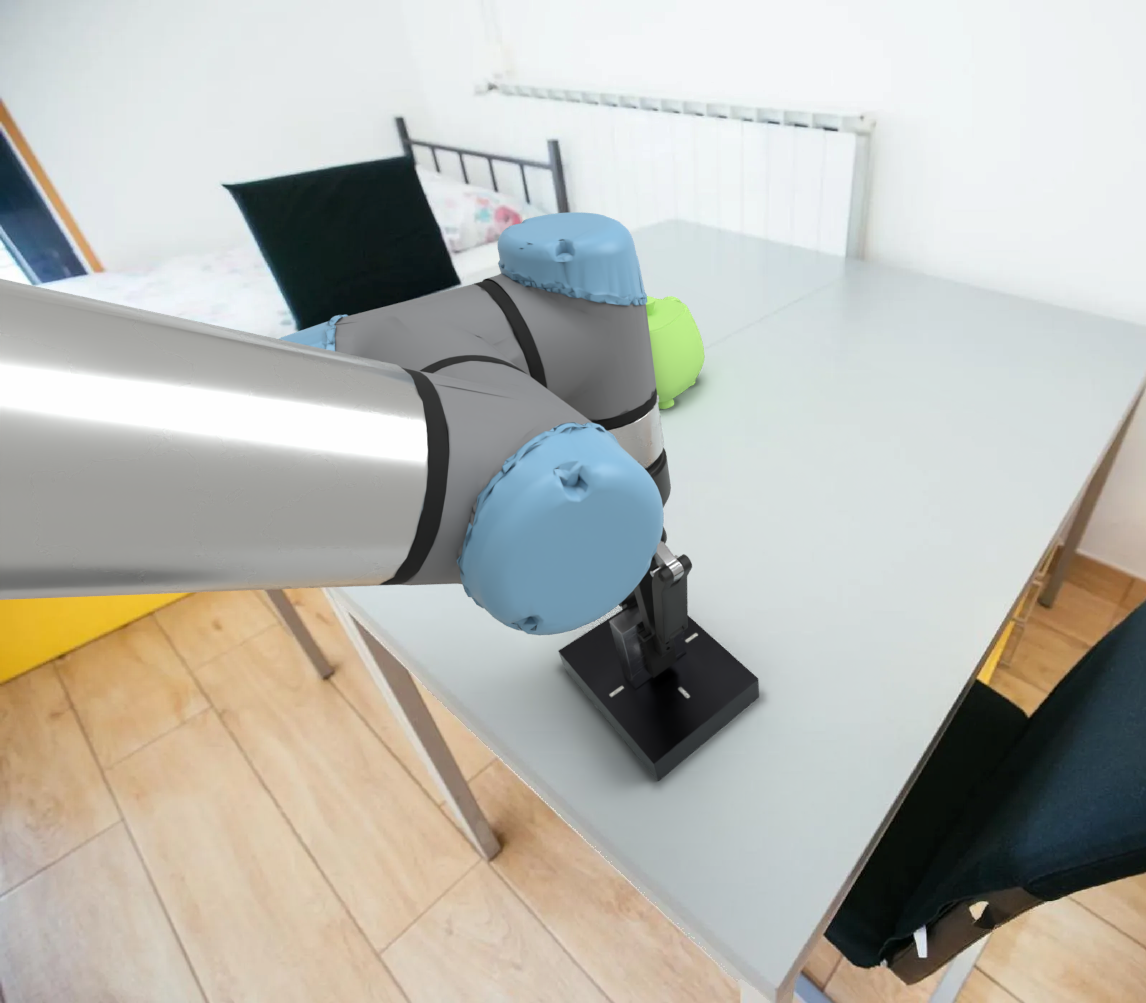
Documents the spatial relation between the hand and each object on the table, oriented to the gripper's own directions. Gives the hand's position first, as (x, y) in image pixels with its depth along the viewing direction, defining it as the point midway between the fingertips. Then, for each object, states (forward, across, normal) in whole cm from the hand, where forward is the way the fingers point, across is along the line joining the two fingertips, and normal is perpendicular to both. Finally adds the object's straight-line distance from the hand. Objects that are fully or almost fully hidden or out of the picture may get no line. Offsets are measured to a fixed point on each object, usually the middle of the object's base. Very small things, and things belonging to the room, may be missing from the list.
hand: (654, 658), depth 59 cm
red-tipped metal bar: (+1, 0, 0) cm, 1 cm away
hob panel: (+4, 0, 0) cm, 4 cm away
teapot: (+4, +50, -32) cm, 60 cm away
